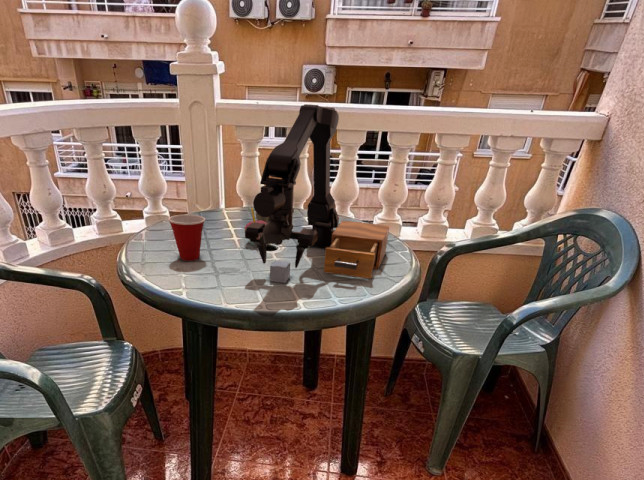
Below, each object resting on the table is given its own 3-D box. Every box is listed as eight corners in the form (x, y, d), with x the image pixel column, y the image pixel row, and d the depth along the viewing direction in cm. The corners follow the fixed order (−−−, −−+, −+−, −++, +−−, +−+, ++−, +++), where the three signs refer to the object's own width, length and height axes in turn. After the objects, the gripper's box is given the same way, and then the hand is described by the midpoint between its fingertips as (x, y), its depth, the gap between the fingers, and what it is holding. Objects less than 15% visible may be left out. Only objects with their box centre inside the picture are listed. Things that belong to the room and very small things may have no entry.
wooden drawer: (368, 284, 131) (371, 260, 127) (319, 277, 135) (321, 253, 131) (378, 262, 144) (381, 239, 140) (333, 256, 147) (336, 234, 143)
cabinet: (378, 269, 142) (382, 240, 137) (329, 262, 146) (332, 234, 141) (385, 253, 152) (389, 225, 147) (339, 247, 156) (342, 220, 151)
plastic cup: (214, 254, 151) (212, 214, 144) (196, 266, 143) (192, 225, 136) (184, 248, 155) (181, 210, 148) (165, 260, 147) (160, 219, 140)
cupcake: (251, 249, 155) (251, 210, 147) (240, 241, 161) (239, 203, 153) (275, 245, 158) (276, 206, 151) (263, 237, 164) (263, 199, 157)
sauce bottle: (275, 211, 171) (281, 195, 186) (258, 204, 170) (266, 188, 186) (268, 228, 175) (274, 210, 190) (252, 221, 174) (259, 203, 189)
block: (269, 280, 135) (270, 265, 133) (274, 275, 139) (275, 260, 136) (284, 283, 134) (285, 267, 131) (289, 277, 137) (290, 262, 135)
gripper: (236, 211, 121) (237, 271, 130) (308, 219, 116) (304, 281, 125) (252, 199, 129) (252, 257, 139) (320, 207, 124) (316, 265, 134)
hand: (280, 265), depth 134 cm, fingers open, 9 cm apart
